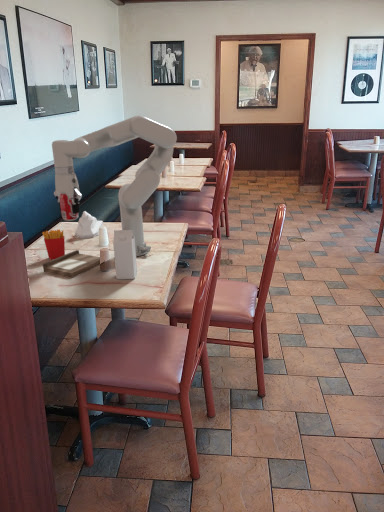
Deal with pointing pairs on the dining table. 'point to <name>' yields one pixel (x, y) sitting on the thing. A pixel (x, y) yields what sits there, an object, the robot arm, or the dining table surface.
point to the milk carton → (125, 254)
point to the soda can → (67, 208)
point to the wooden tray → (71, 264)
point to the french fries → (54, 243)
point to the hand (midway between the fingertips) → (69, 211)
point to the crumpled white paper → (88, 226)
